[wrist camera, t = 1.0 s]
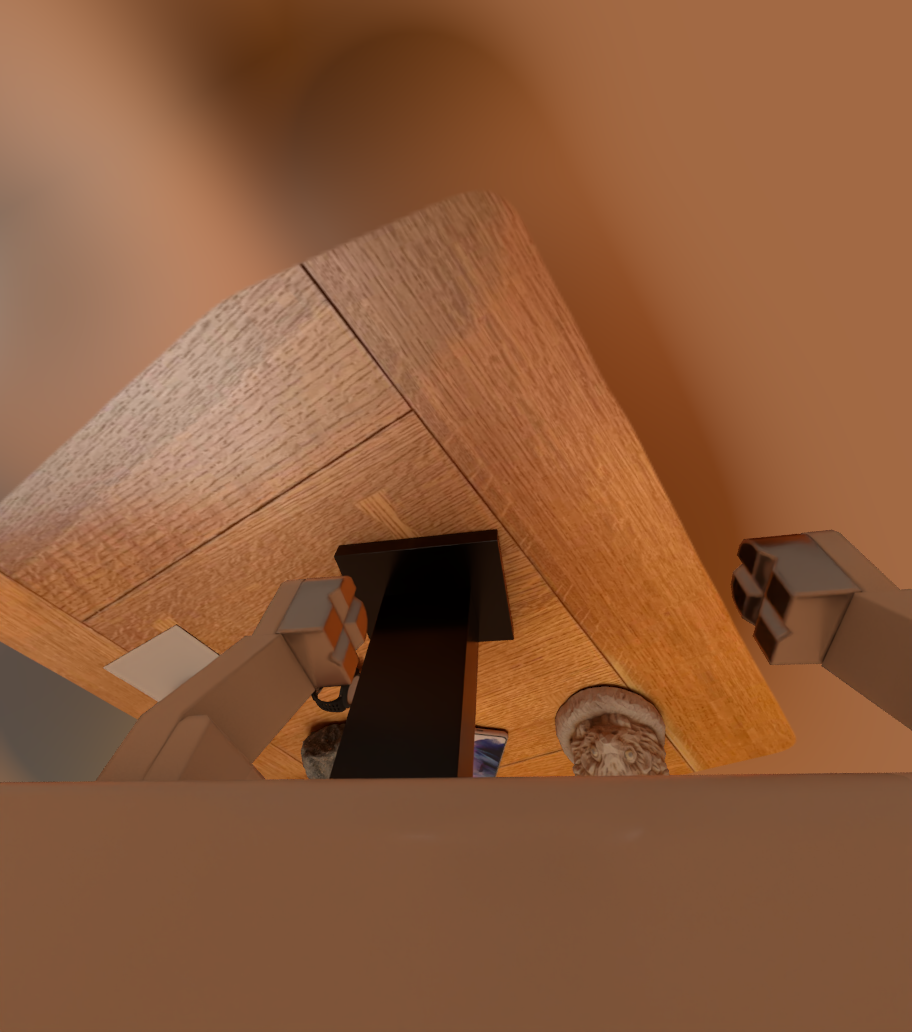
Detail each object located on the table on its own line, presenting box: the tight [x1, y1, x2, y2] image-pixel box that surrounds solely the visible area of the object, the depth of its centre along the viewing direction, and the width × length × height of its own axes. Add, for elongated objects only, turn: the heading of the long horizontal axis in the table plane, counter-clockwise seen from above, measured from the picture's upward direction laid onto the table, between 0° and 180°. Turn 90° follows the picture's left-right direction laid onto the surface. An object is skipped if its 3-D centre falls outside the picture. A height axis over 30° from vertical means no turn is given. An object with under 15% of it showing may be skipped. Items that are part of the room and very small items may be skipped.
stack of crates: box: [103, 625, 219, 702], centre depth 50 cm, size 15×15×7 cm
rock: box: [301, 724, 345, 779], centre depth 54 cm, size 12×10×5 cm
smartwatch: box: [311, 668, 360, 712], centre depth 46 cm, size 4×5×5 cm
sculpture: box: [555, 687, 669, 776], centre depth 47 cm, size 12×17×10 cm
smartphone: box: [473, 728, 508, 777], centre depth 57 cm, size 7×1×15 cm
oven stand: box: [329, 529, 514, 779], centre depth 27 cm, size 12×14×34 cm
